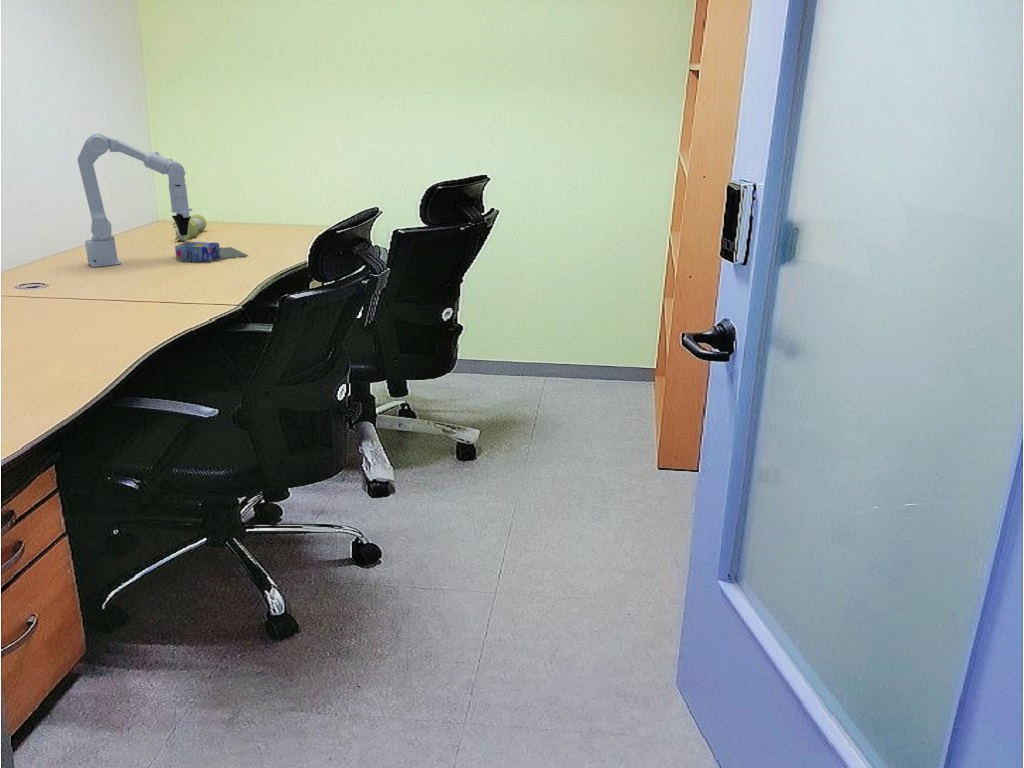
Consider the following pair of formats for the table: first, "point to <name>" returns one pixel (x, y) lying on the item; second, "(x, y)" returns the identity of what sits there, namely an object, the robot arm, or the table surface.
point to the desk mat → (228, 253)
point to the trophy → (192, 228)
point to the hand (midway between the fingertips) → (183, 235)
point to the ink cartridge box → (197, 251)
